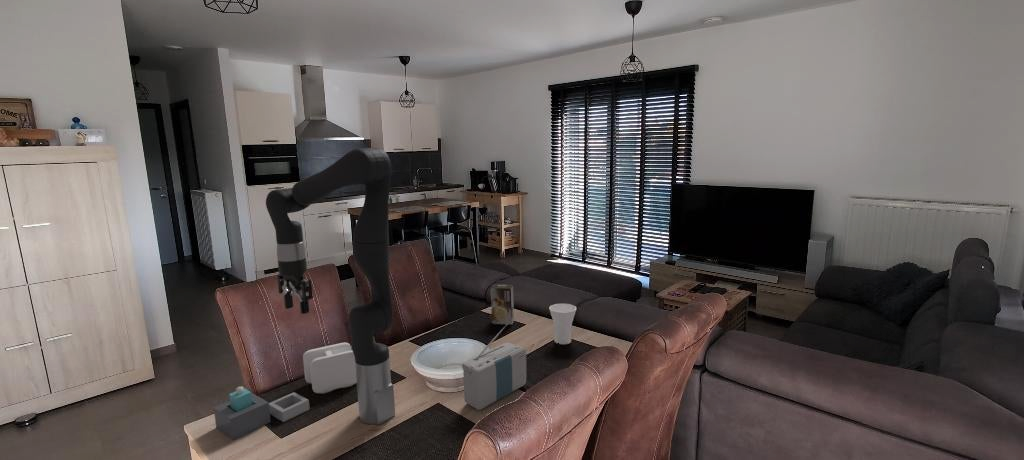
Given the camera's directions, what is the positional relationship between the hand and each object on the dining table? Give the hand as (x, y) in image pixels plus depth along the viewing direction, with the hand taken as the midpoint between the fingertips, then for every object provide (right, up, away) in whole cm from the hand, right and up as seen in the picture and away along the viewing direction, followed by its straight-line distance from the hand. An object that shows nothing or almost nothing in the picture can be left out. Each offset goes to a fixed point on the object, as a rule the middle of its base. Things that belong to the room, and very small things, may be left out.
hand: (297, 310), depth 142 cm
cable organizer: (+6, -26, +13) cm, 30 cm away
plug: (-11, -29, -9) cm, 32 cm away
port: (-11, -30, -9) cm, 33 cm away
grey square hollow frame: (-1, -29, -2) cm, 29 cm away
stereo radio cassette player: (+59, -27, +5) cm, 65 cm away
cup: (+84, -20, +44) cm, 96 cm away
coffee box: (+60, -16, +66) cm, 90 cm away
